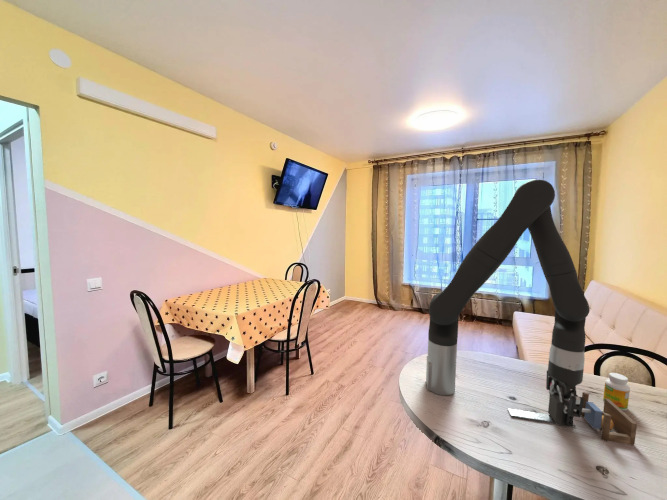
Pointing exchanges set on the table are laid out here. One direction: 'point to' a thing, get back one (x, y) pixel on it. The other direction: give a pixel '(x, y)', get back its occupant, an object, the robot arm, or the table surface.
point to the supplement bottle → (617, 390)
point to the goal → (615, 423)
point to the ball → (610, 424)
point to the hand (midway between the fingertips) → (560, 416)
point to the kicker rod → (591, 411)
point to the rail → (533, 416)
